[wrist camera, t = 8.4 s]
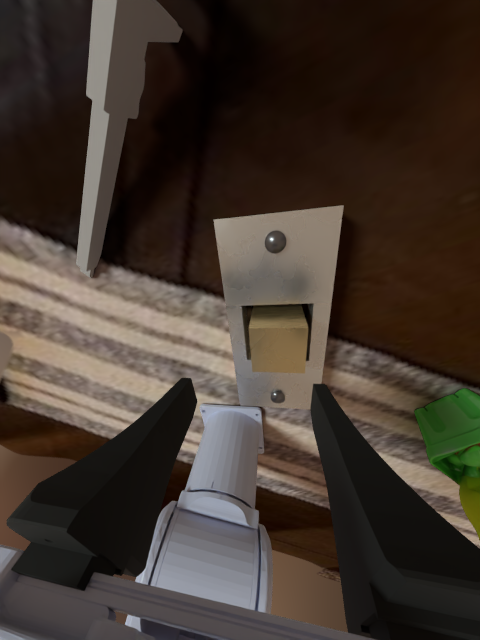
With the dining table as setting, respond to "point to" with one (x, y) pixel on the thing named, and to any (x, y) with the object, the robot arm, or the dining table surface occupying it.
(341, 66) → the dining table surface
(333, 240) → the white slotted plate
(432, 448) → the fruit basket
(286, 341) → the block
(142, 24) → the caliper
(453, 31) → the dining table surface
